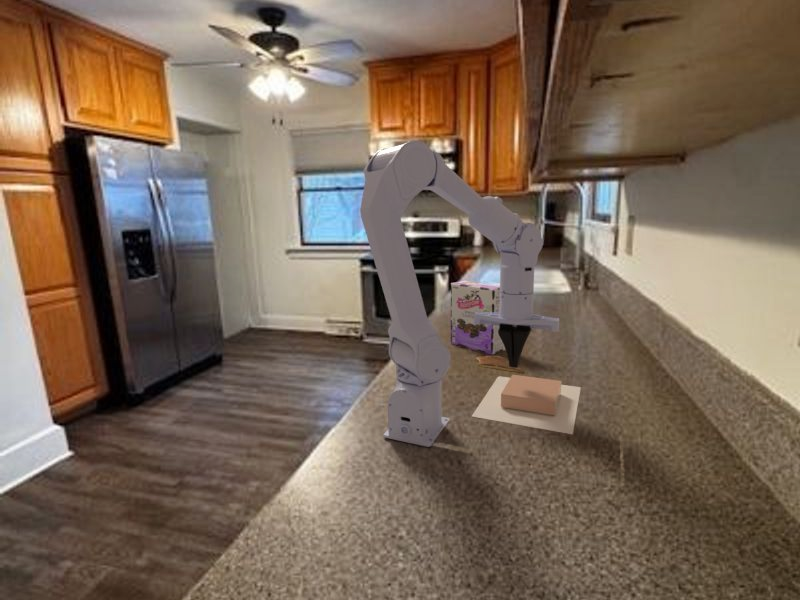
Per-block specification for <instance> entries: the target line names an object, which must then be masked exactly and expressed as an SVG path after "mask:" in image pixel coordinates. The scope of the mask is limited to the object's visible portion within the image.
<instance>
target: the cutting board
mask: <svg viewBox="0 0 800 600" xmlns="http://www.w3.org/2000/svg"><path fill="white" fill-rule="evenodd" d="M510 378H511V377H507V376H501V375H500V376H499V375H498V377H496V378H495V381H494V382H493V383H492V384H491V386H490V388H489V390H488V391H487V393H486V394H485V395H484V397H483V398H482V400H481V402H480V403H479V404H478V406H477V407H476V409H475V410H474V412H473V414H472V415H471V417H472V418H479V419H483V420H489V421H493V422H499V423H507V424H512V425H517V426H524V427H528V428H534V429H541V430H546V431H550V432H557V433H563V434H567V435H574V430H575V424H576V417H577V414H578V413H577V412H578V406H579V400H580V395H581V389H582V387H580V386H574V385H566V384H561V396H560V399H559V403H558V407H557V410H556V414H555V416H552V415H546V414H540V413H534V412H528V411H522V410H516V409H509V408H505V407H501V393H502V391H503V390H504V388H505V386H506V385H507V383H508V381H509V380H510Z"/></svg>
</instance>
